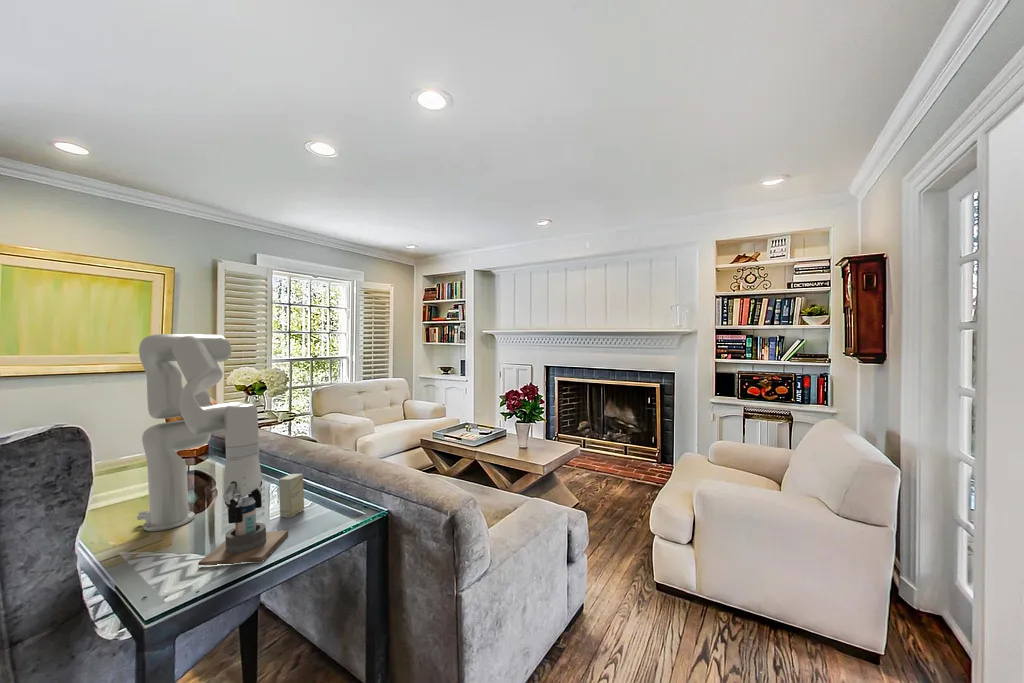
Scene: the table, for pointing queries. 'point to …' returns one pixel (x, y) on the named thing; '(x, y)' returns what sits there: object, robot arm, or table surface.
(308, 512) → the table surface
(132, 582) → the table surface
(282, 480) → the skincare box
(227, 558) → the can holder
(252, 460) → the robot arm
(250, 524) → the beer can
